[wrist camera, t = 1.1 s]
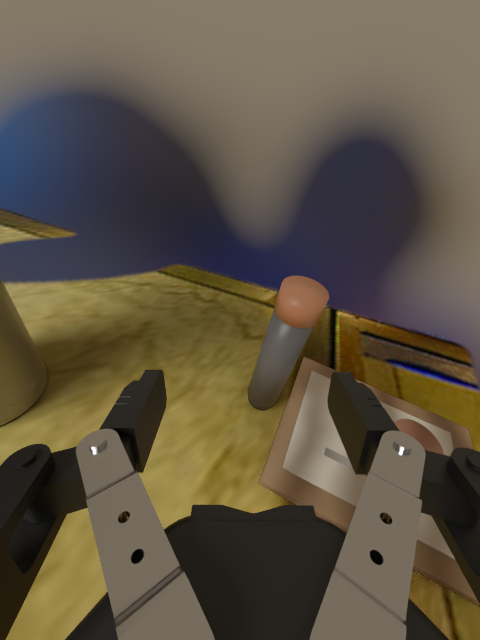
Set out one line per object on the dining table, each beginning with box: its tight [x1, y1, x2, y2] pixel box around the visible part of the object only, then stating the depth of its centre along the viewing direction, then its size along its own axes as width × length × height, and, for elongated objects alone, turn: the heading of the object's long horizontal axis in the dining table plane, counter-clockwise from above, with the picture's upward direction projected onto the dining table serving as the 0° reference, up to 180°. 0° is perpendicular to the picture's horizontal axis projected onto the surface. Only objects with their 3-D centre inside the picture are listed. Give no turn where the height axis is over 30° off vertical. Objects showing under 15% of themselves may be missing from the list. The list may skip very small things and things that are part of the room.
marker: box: [248, 276, 329, 410], centre depth 27 cm, size 4×4×16 cm
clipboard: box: [259, 357, 480, 607], centre depth 29 cm, size 21×17×2 cm
